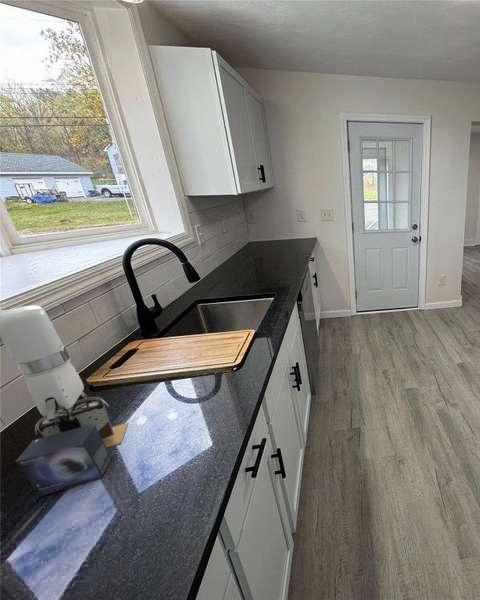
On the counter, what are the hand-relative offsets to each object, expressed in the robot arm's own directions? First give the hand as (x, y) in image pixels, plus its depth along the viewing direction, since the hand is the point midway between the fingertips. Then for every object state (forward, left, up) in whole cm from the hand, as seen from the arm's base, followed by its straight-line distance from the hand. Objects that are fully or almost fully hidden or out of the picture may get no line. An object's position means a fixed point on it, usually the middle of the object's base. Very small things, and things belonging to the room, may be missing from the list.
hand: (80, 423), depth 76 cm
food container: (0, 0, -5) cm, 5 cm away
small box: (+1, -11, -7) cm, 13 cm away
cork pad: (0, 0, -7) cm, 7 cm away
